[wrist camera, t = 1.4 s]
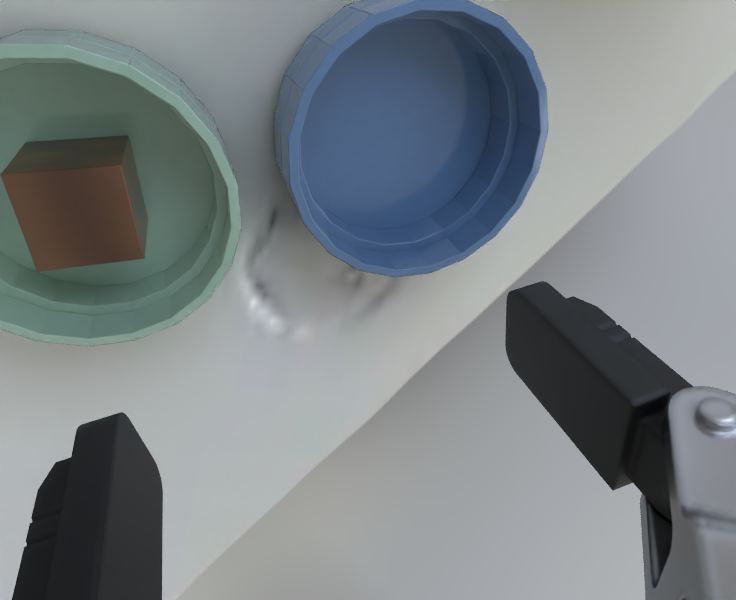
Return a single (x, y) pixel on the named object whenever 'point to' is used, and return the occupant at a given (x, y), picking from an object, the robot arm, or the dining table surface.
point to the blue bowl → (410, 132)
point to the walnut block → (78, 201)
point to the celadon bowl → (156, 176)
